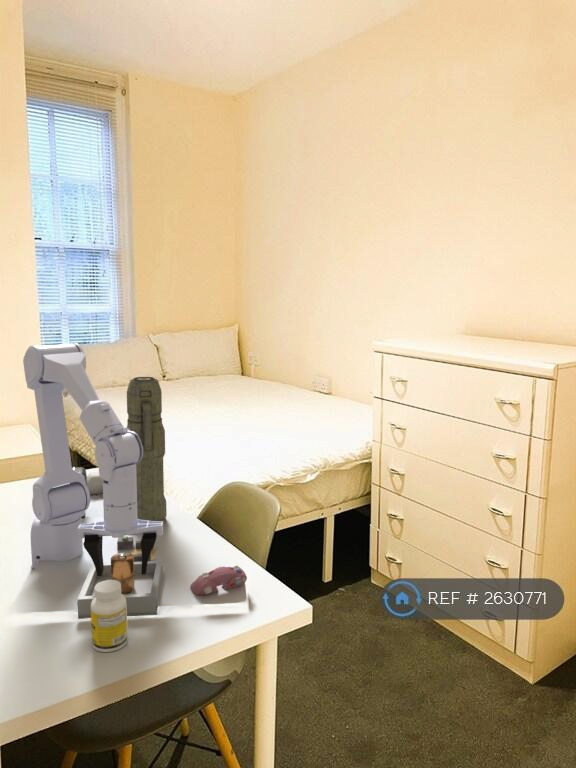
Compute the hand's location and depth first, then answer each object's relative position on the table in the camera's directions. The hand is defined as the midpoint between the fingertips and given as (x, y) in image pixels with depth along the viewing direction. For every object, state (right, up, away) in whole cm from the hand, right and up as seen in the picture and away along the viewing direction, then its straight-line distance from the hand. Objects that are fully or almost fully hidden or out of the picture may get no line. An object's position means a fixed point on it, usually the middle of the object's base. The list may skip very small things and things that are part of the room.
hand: (122, 573), depth 107 cm
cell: (0, -4, +1) cm, 4 cm away
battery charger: (-21, +2, +38) cm, 43 cm away
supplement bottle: (+2, -7, -13) cm, 15 cm away
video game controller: (+17, -5, +2) cm, 18 cm away
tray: (0, -5, +1) cm, 5 cm away
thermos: (-3, +1, +31) cm, 31 cm away
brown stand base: (0, -2, +15) cm, 15 cm away
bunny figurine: (-21, +5, +54) cm, 58 cm away
